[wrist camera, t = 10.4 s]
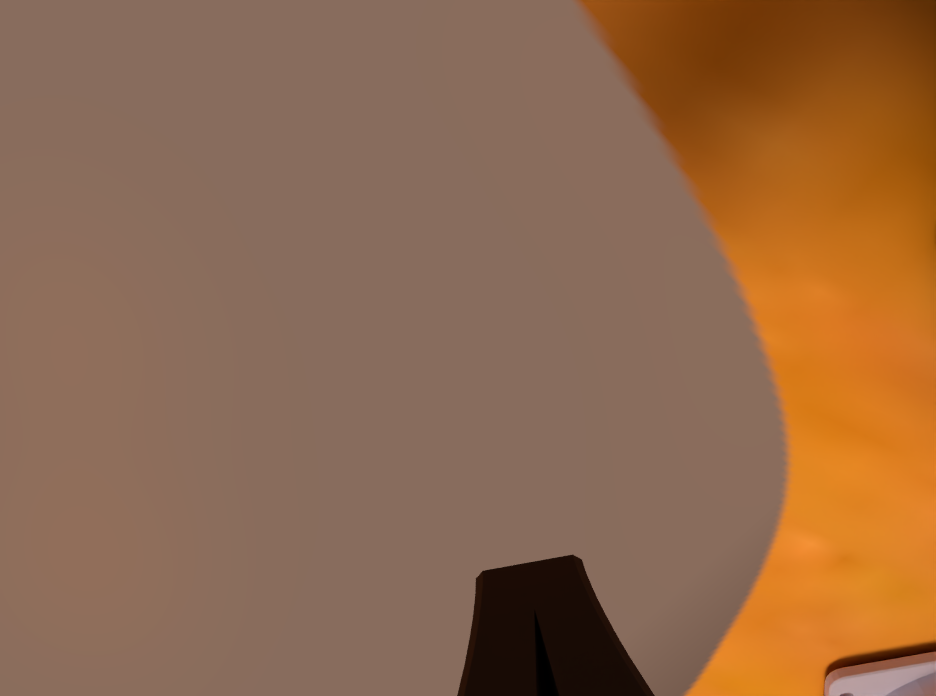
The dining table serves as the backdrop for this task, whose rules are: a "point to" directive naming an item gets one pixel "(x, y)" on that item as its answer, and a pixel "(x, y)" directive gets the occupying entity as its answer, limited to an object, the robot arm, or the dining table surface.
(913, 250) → the dining table surface
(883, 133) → the dining table surface
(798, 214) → the dining table surface
